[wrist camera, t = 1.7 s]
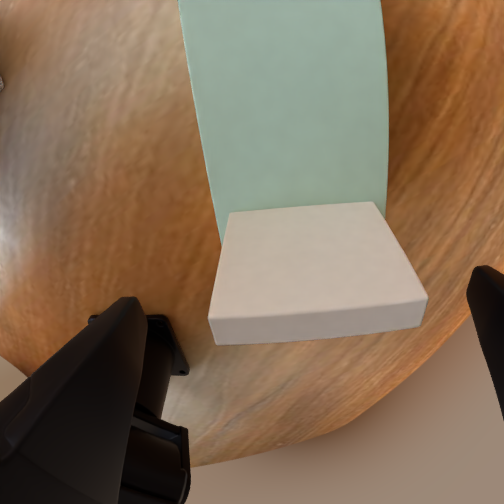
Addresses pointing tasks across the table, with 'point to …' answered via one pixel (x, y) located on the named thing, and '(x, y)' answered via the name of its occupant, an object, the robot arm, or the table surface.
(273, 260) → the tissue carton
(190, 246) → the table surface
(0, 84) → the coffee box
